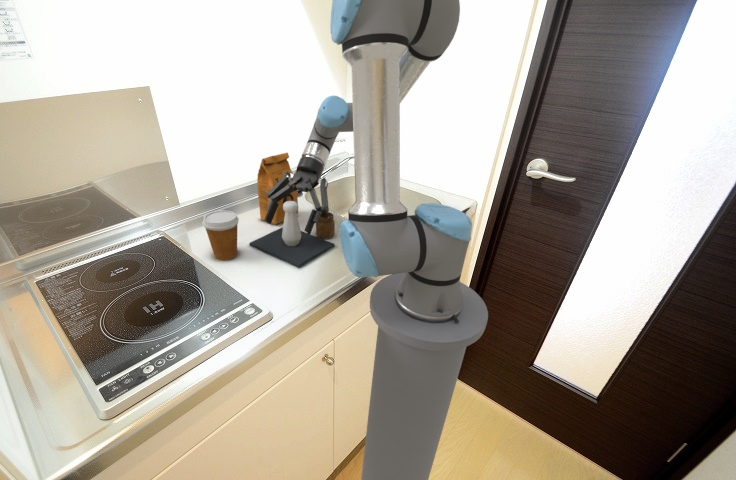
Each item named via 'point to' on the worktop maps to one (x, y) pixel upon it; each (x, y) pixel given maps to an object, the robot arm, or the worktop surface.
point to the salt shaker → (291, 224)
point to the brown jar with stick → (325, 225)
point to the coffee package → (273, 184)
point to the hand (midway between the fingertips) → (286, 227)
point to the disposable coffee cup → (222, 233)
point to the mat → (292, 247)
